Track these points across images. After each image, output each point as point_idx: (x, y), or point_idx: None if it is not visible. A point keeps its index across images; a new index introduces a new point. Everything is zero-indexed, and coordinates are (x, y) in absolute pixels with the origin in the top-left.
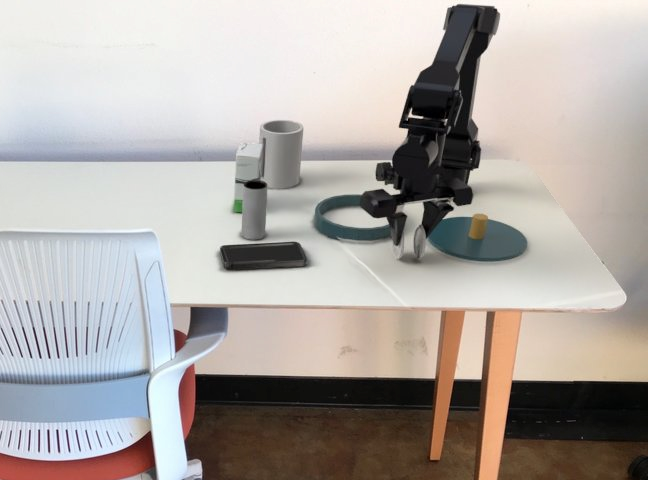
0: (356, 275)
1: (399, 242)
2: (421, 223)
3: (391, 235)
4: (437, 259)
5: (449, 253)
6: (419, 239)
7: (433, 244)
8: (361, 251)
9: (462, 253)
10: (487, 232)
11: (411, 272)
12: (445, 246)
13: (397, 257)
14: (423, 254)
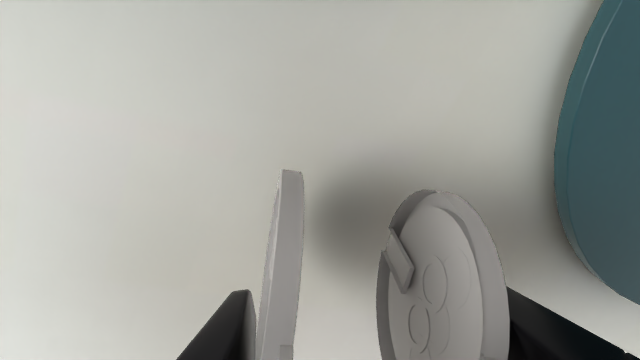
0: (36, 300)
1: (254, 356)
2: (536, 350)
3: (193, 340)
4: (489, 223)
5: (565, 226)
6: (431, 304)
7: (565, 121)
8: (110, 40)
9: (609, 262)
10: None
11: (311, 308)
12: (598, 177)
13: (264, 277)
14: (390, 339)
